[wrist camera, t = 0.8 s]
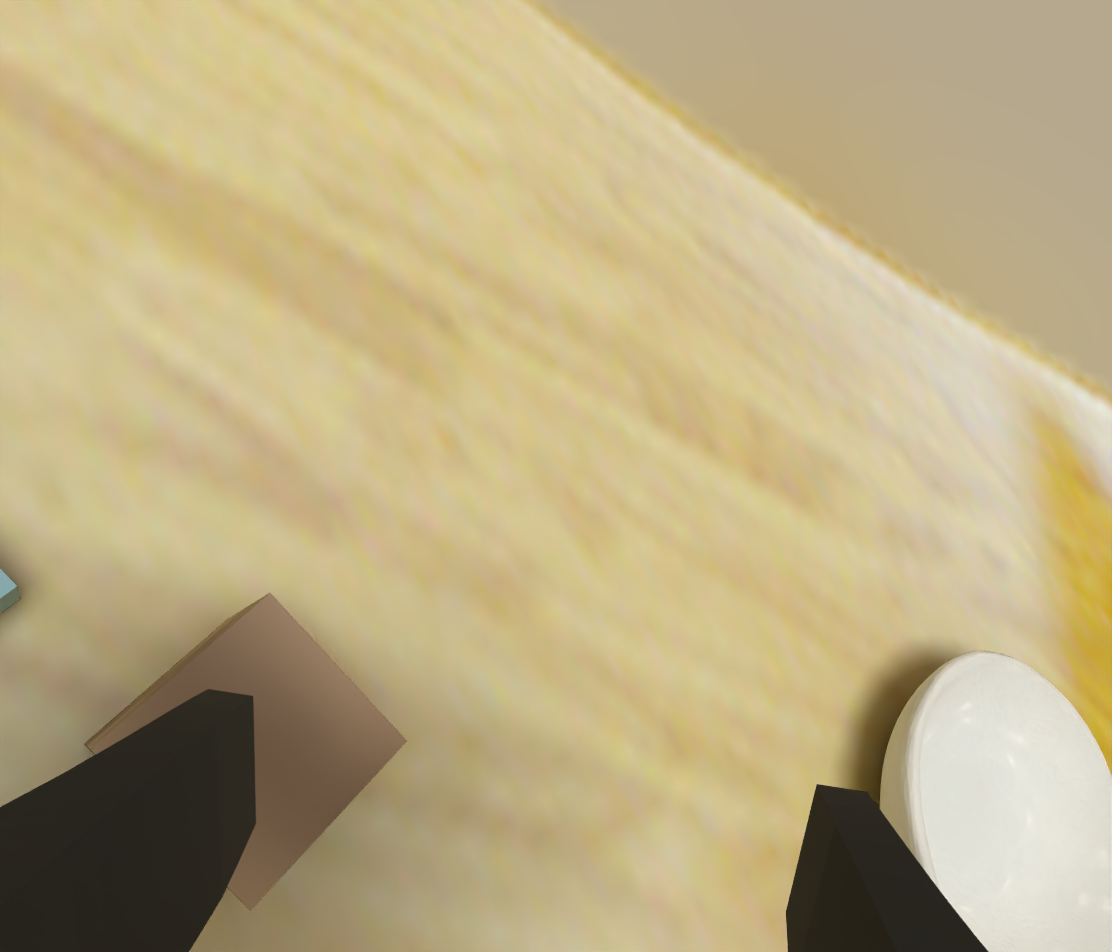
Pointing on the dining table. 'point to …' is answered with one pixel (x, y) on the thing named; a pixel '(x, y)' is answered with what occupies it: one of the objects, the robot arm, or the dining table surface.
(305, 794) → the walnut block
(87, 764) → the robot arm
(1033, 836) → the spoon rest
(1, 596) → the teal base
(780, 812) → the dining table surface
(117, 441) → the dining table surface
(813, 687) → the dining table surface
